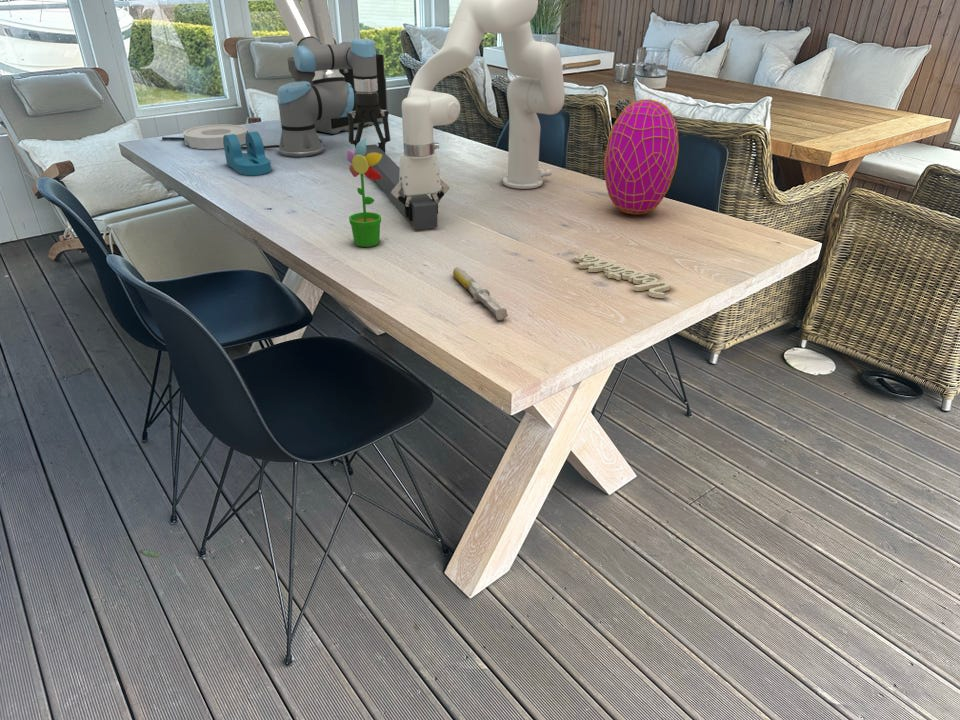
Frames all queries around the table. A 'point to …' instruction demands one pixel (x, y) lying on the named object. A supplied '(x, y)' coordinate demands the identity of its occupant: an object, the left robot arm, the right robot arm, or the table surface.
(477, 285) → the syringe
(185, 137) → the ashtray
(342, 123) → the electronic device
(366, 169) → the potted flower
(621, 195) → the decorative egg
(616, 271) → the decorative sign
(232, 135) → the camera mount
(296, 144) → the left robot arm
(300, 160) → the table surface
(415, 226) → the post
